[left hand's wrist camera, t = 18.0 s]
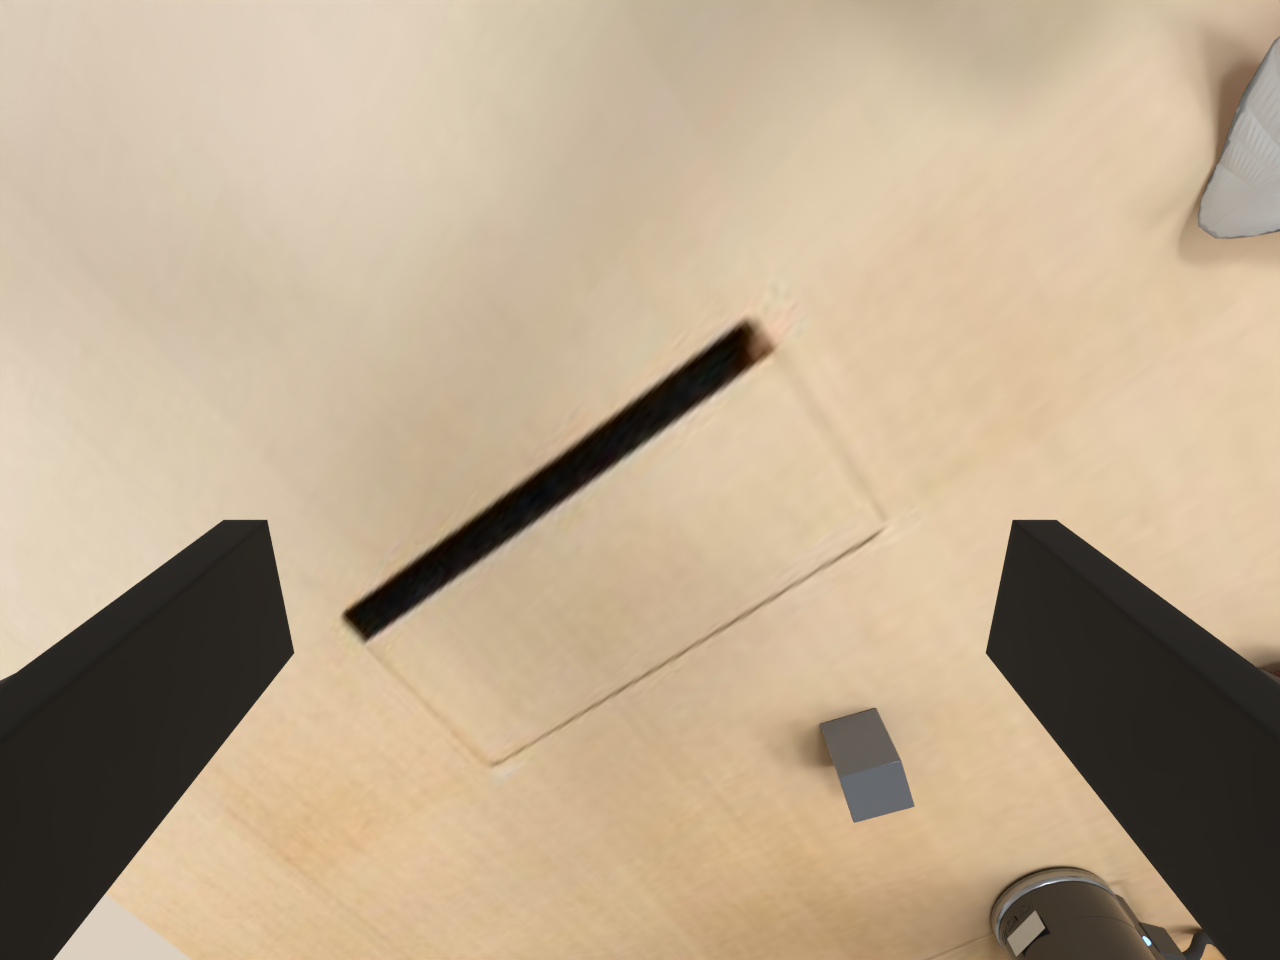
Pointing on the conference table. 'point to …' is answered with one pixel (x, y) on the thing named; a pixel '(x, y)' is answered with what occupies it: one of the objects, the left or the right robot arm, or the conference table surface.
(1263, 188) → the fish
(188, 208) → the conference table surface
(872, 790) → the grey block
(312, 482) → the conference table surface
